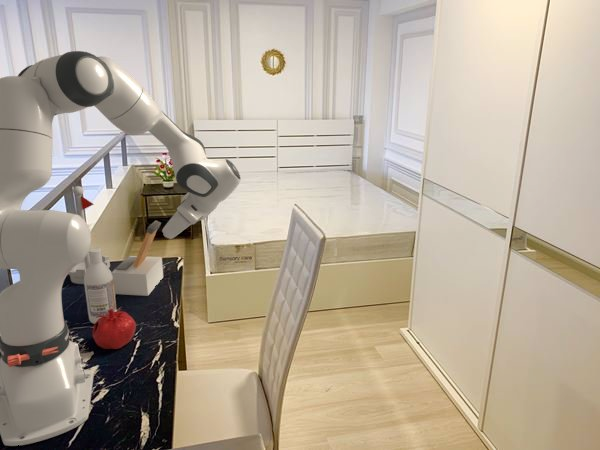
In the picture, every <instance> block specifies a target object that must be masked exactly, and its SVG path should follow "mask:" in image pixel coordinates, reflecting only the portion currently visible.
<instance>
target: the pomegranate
mask: <svg viewBox="0 0 600 450" xmlns="http://www.w3.org/2000/svg"><path fill="white" fill-rule="evenodd" d="M121 310H123V309H122V308H120V309H117V311H116V312H113V309H110V310H108V315H106V316H102V315H99V316H98V317H102V318H99V319H98V320H97V322H96V323H95V324H94V325H93V328H92V333H91V334H92V337H93V340H94V342H95V344H96V345H97V346H98V347H100V348H101V349H104V350H110V349H113V350H119V349H121V348H123V347H124V346H126V345H127V344H129V342H131V341H132V339H133V338H134V335H135V332H136V328H137V323H136V321H135V320H134V318H133V317H132V316H131V315H130V312H129V313H128V312H126V311H121ZM98 317H96V318H98Z"/></svg>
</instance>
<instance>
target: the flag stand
mask: <svg viewBox="0 0 600 450" xmlns="http://www.w3.org/2000/svg"><path fill="white" fill-rule="evenodd" d="M84 192H85V191H84V189H83V187H82V186H79V185H76V186H74V187H73V189H72V193H73V194H74V195H75V198H76V205H77V210H78V211H77V212H78V215H79V216H81V217H82V218H83V219H84V221H85V222H86V219H85V212H84V211H85V210H86V209H87V208H90V207H92V206H93V205H95V204H94V203H92V202H91V201H89V200H88V199H86V198H85V197H84V196H83V194H84ZM102 262H103V263H104V264H105V265H106V266H107V267H108V268H109V269H110V267H111V263H110V258H109V256H108V255H106V254H103V255H102ZM89 264H90V258H89V251H88V253H87V255H86V257H85V258H84V259H83V260H82V261H81V262H80V263H79V264H77V265H76V266H75V267H74V268H73V269H72V270H71V271H70V272H69V273H68V274H67V276H68V275H69V277H70V281H71V282H72V283H73V284H77V285H84V275H85V272H86V270H87V268H88V266H89Z"/></svg>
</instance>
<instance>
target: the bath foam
mask: <svg viewBox="0 0 600 450" xmlns="http://www.w3.org/2000/svg"><path fill="white" fill-rule="evenodd" d="M102 256H103V255H102V249H101V248H100V247H93V248H90V249H89V258H90V264H89V266H88V268H87V270H86V272H85V275H84V284H83V287H84V292H85V294H84V295H85V300H86V306H87V315H88V320H89V322H90V323H92V324H95V323H96V322H97V320H98V319H99V318H102V317H98V316H99V315H102V316H106V315H108V310H110V309H113V312H116V311H118V309H117V304H116V303H117V302H116V294H115V292H114V284H113V277H112V273H111V272H112V271H111V270H110V267H109V268H108V267H107V266H106V265H105V264H104V263H103V262H102ZM96 317H98V318H96Z"/></svg>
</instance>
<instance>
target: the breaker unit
mask: <svg viewBox="0 0 600 450" xmlns="http://www.w3.org/2000/svg"><path fill="white" fill-rule="evenodd" d="M137 256H138V255H129V256H127V257H126V258H125V259H124V260H123V261H122V262H121V263H119V265H117V266H116V267H115V268H114V269H113V270H112V271H111V273H112V277H113V284H114V292H115V295H127V296H128V295H129V296H146V297H147V296H149V295H150V294H151V292H153V291H154V289H155V288H156V287H157V286H158V284H159V283H160V282H161V281H162V279H163V278H164V269H163V268H164V267H163V258H162V257H161V256H146V258H145V260H144V261H143V262H142V263H141V264H140V265H139V266H138V267H137V268H136V267H134V266H133V265H134V263H135V261H136V258H137ZM160 280H161V281H160ZM156 285H157V286H156ZM155 286H156V287H155Z"/></svg>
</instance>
